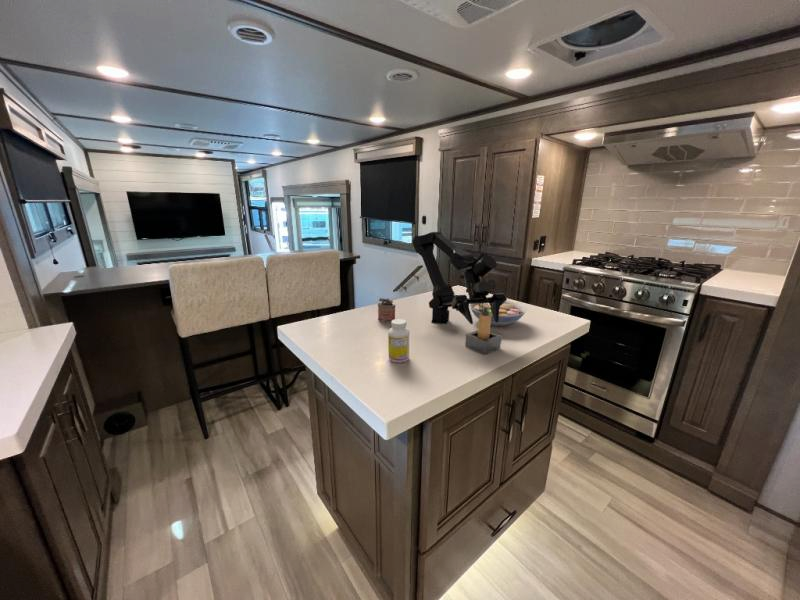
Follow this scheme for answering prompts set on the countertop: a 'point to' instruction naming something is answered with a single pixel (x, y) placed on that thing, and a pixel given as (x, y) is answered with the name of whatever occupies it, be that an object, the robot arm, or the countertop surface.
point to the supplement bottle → (398, 341)
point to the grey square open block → (483, 342)
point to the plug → (484, 325)
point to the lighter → (386, 310)
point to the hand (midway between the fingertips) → (484, 323)
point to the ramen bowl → (501, 312)
